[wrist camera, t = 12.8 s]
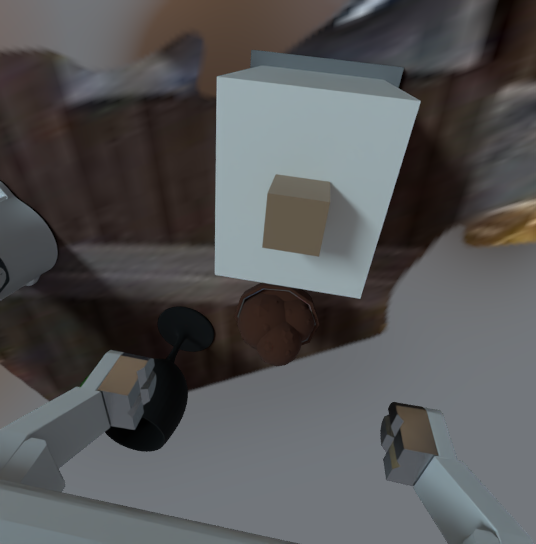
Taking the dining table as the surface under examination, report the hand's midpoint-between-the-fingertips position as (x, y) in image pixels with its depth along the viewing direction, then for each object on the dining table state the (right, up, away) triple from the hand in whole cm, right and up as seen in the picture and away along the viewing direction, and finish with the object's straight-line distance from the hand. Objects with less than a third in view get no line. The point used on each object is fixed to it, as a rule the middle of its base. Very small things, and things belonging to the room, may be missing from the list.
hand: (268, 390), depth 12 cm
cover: (+5, +19, +29) cm, 35 cm away
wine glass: (-15, -6, +50) cm, 52 cm away
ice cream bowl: (+2, +3, +41) cm, 41 cm away
